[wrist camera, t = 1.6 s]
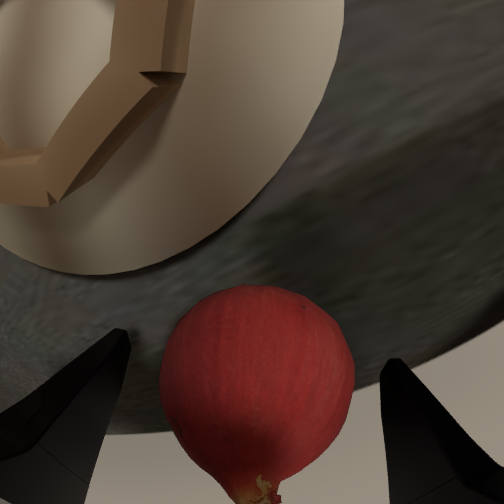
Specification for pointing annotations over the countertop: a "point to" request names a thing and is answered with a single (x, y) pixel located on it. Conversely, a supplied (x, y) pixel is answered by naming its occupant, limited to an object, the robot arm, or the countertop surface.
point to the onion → (256, 387)
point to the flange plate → (148, 119)
